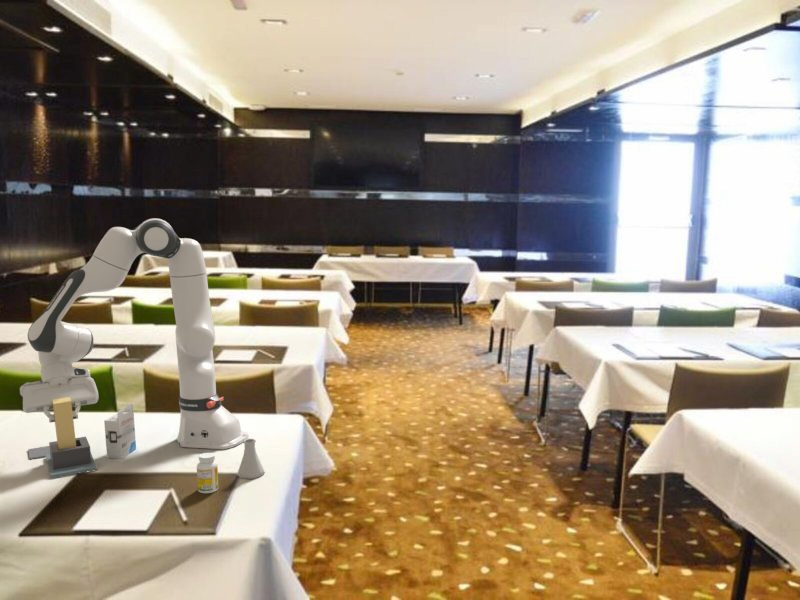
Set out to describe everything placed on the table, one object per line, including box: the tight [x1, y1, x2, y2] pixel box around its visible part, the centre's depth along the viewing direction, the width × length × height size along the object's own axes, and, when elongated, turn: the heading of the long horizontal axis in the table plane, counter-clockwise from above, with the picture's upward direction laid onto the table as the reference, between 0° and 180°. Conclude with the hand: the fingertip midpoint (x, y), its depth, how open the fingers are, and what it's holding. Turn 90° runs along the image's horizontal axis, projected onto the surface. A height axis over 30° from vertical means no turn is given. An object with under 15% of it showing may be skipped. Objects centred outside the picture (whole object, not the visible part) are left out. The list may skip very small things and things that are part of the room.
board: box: [45, 453, 98, 479], centre depth 220 cm, size 18×12×1 cm, turn 29°
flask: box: [236, 438, 266, 480], centre depth 210 cm, size 7×7×10 cm
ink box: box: [104, 403, 137, 460], centre depth 227 cm, size 8×5×15 cm, turn 168°
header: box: [48, 436, 92, 470], centre depth 219 cm, size 10×10×5 cm
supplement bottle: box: [196, 452, 219, 494], centre depth 200 cm, size 5×5×10 cm
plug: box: [52, 397, 76, 449], centre depth 217 cm, size 5×5×14 cm
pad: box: [27, 445, 50, 460], centre depth 230 cm, size 9×9×1 cm
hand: (63, 419), depth 216 cm, fingers closed on plug, 5 cm apart
